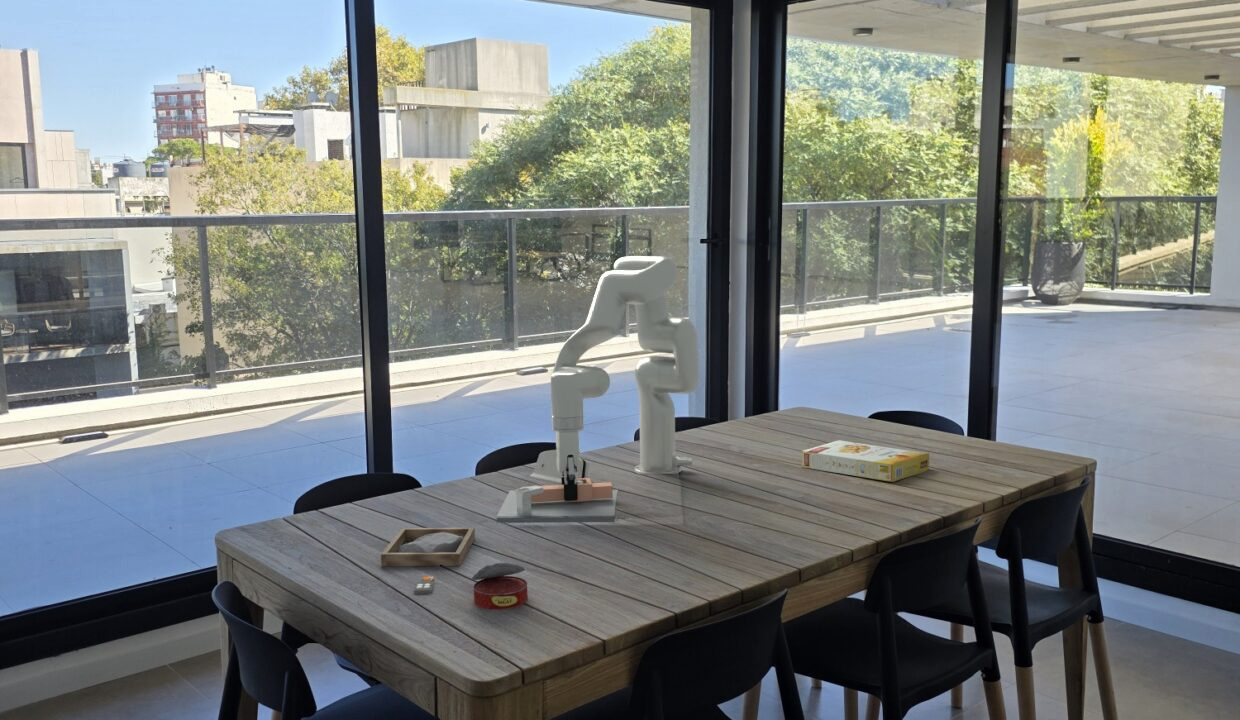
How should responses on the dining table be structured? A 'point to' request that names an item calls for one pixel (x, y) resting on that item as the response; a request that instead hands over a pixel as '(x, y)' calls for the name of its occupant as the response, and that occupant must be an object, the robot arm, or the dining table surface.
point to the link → (585, 492)
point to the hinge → (555, 467)
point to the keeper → (526, 498)
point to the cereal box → (865, 460)
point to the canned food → (499, 587)
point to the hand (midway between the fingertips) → (569, 496)
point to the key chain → (424, 586)
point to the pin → (579, 483)
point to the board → (560, 510)
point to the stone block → (433, 543)
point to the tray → (424, 559)
